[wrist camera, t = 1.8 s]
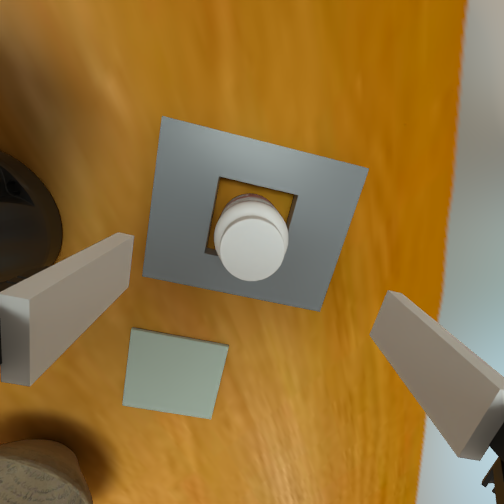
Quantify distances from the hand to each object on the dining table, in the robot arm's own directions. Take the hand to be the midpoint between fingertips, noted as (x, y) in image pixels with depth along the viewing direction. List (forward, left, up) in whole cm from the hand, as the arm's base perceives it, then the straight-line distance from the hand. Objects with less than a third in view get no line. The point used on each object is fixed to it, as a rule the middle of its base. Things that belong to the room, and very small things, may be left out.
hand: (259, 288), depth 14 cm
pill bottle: (0, 0, -17) cm, 17 cm away
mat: (-5, -22, -17) cm, 28 cm away
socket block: (0, 0, -17) cm, 17 cm away
